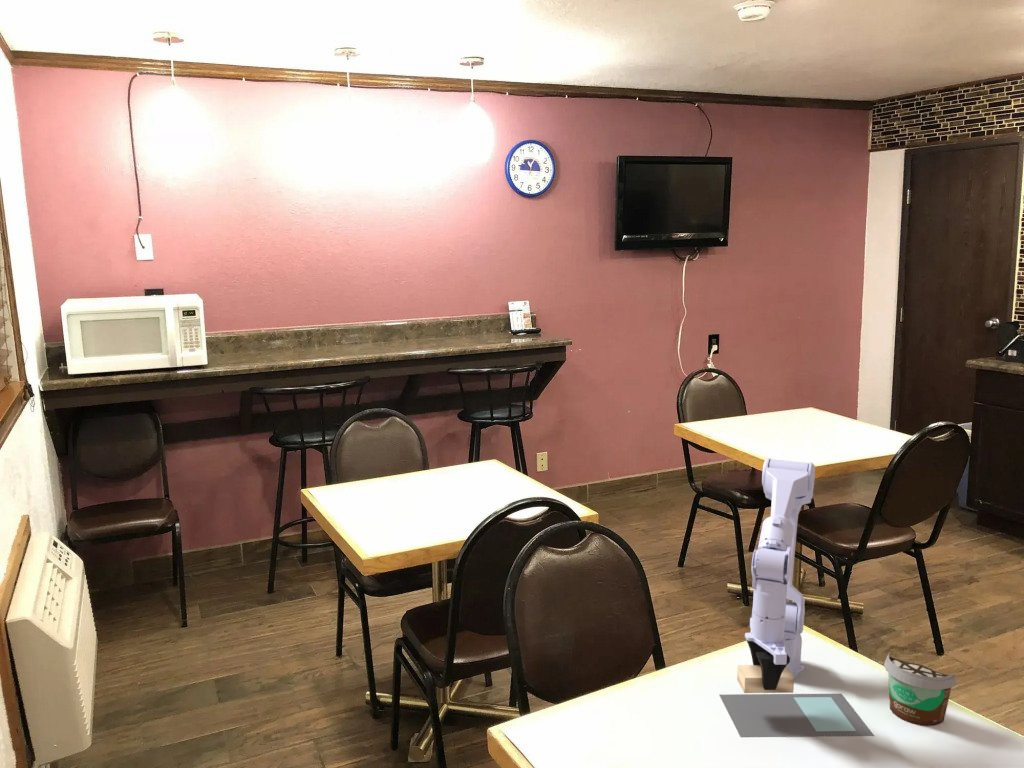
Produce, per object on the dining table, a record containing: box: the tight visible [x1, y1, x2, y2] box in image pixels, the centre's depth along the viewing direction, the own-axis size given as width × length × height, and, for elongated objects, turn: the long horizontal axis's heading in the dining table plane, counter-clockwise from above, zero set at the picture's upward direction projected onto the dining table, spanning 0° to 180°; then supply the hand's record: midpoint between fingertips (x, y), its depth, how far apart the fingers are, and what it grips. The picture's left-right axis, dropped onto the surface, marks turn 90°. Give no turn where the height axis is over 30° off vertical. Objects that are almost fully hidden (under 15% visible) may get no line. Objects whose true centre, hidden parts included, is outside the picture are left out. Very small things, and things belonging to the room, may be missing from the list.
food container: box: [883, 652, 957, 727], centre depth 150 cm, size 12×6×10 cm, turn 47°
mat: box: [719, 693, 875, 738], centre depth 151 cm, size 24×14×1 cm, turn 91°
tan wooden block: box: [736, 664, 795, 694], centre depth 150 cm, size 9×4×3 cm, turn 91°
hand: (765, 681), depth 150 cm, fingers closed on tan wooden block, 4 cm apart
